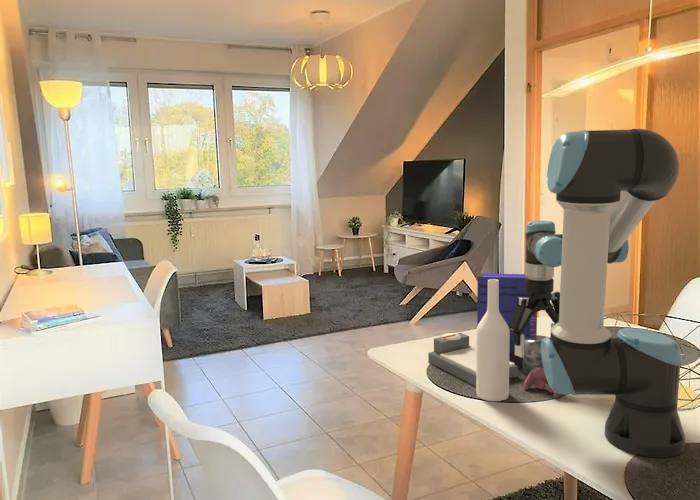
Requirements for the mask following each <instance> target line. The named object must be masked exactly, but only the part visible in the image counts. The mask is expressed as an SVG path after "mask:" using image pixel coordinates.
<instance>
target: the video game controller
mask: <svg viewBox="0 0 700 500" xmlns="http://www.w3.org/2000/svg"><path fill="white" fill-rule="evenodd" d="M546 381H547V379H546V376H545V372H544V368H534V369H533V370H532V371H531V372H530V373H529V374H527V377H526V378H525V380H524V383H523V389H524V390H525V391H527V390H529V389H531V388H532V386H533V385H534V384H535V387H536V388H537V389H539V390H544V389H547V391H548V392H549V393H551V394H553V398H554V399H556V400H557V399H559V398H560V397H561V396H562V394H558V393H556V392H554V391H553V390H552V389H551V388H550V386H549V384H547V382H546Z"/></svg>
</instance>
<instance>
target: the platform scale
mask: <svg viewBox="0 0 700 500" xmlns="http://www.w3.org/2000/svg"><path fill="white" fill-rule="evenodd" d="M428 363H429V364H431V365H433V366H434V367H436V366H437V368H438V367H439V369H440V368H441V369H440V370H442V369H443V370H442V371H444V370H445V372H446V371H447V373H448V372H449V374H450V373H451V374H450V375H452V374H453V375H452V376H454V375H455V376H454V377H456V376H457V377H456V378H458V377H459V378H458V379H460V378H461V379H460V380H462V379H463V380H462V381H464V380H465V381H464V382H466V381H467V382H466V383H468V384H470V385H472V386H474V387H476V346H475V345H474V346H472V345H470V335H468V334H465V333H462V332H457V333H456V332H452V333H451V332H448V333H444V334H442V335H441V336H440V337H435V338H433V351H430V352H428ZM513 377H514V378H517V377H518V365H517V364H516V363H515V362H513V361H510V360H509V378H510V379H514V378H513Z"/></svg>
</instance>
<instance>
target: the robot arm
mask: <svg viewBox="0 0 700 500" xmlns="http://www.w3.org/2000/svg"><path fill="white" fill-rule="evenodd" d="M547 164H548V165H547V172H546V178H547V180H546V181H547V182H546V183H547V188H548V190H549V191H550V193H553V194H556V195H555V202H557V203H558V205H559V206H560V207H561V208H562V209H563V213H562V214H563V219H562V220H563V221H562V233H561V234H559V233H557V231H556V225H555V222H553V221H549V220H531V221H529V222H527V223H526V225H525V232H524V236H525V260H524V261H525V262H524V274H525V275H526V278H525V291H526V293H527V295H526V298H521V297H518V298H517V305H516V308H515V310H514V313H513V316H512V318H511V321H510V324H509V326H508V327H509V331H510V332H511V333H513V334H514V345H515V354H514V356H517V357H518V358H522V359H523V357H524V334H522V332H523V331H524V329H525V327H526V325H527V324H528V322H529V320H530V319H531V317H532V315H534V314H535V313H536V312H537V313H538V312H540V311H545V312H546V314H547V315H548V317H549V318H550V319H551V321H552V323H550V337H549V336H546V338H543V339H542V341H541V342H542V343H541V356H542V362H543V367H544V372H545V376H546V379H547V380H546V381H547V382H546V383H548V384H549V386H550V388H551V389H552V390H553V391H554V392H556V393H558V394H561V395H572V396H576V395H578V396H579V395H585V396H586V395H589V396H590V395H592V396H593V395H595V396H596V395H599V396H603V395H612V396H614V395H615V396H614V402H613V404H612V406H611V409H610V410H609V414H608V415H607V418H606V420H605V422H604V423H605V424H604V436H605V438H606V440H607V441H608V442H609V443H610V444H612V445H613V446H615V447H617V448H619V449H620V450H622V451H625V452H627V453H631V454H634V455H638V456H642V457H646V458H647V457H649V458H670V457H675V456H678V455H680V454H682V453H683V452H684V451H685V447H686V446H685V445H686V434H685V431H684V428H683V426H682V425H683V424H682V421H681V418H680V415H679V412H678V401H679V387H680V374H681V373H680V372H681V366H682V362H681V347H680V345H679V344H678V342H677V341H676V340H674V339H673V338H671V337H669V336H667V335H665V334H662V333H659V332H656V331H651V330H648V329H641V328H633V327H632V328H631V327H625V328H620V329H619V330H618V331H617V333H616V337H612V333H611V332H610V330H609V329H608V328H606V326H605V325H604V323H605V322H604V320H605V308H606V307H605V306H606V291H607V273H608V264H609V265H610V264H614V263H615V264H617V263H618V264H619V263H623V262H625V261H626V260H627V258H628V254H629V251H630V250H629V249H630V247H629V240H628V239H629V238H630V236H631V235H632V233H634V231H635V229H637V227H638V226H639V224H640V223H641V222H642V220H643V219H644V218H645V216H646V215H647V213H648V212H649V211H650V209H651V208H653V205H654V204H655V203H656V202H658V201H660V200H663V199H664V198H665V197H667V196H668V194H670V192H671V191H672V189H673V188H674V186H675V185H676V182H677V181H678V177H679V174H680V173H679V172H680V161H679V156H678V154H677V152H676V149H675V148H674V146H673V145H672V144H671V142H670V141H669V140H668V139H667V138H666V137H665V136H663V135H661V134H660V133H658V132H656V131H653V130H649V129H645V128H631V129H602V130H601V129H599V130H598V129H597V130H596V129H595V130H586V129H585V130H584V129H583V130H576V131H570V132H569V131H568V132H564V133H561V134H560V135H559V136H558V137H557V139H556V140H555V142H554V144H553V146H552V148H551V152H550V155H549V159H548V163H547ZM556 233H557V234H556ZM558 267H560V282H559V285H560V286H559V291H557V290H554V284H555V283H554V281H555V280H554V279H553V277H555V268H558ZM529 308H530V309H529ZM518 329H519V330H518ZM548 384H547V385H548Z"/></svg>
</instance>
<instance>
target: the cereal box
mask: <svg viewBox="0 0 700 500" xmlns="http://www.w3.org/2000/svg"><path fill="white" fill-rule="evenodd" d="M525 278H526V275H525V273H477V283H476V284H477V285H476V286H477V296H476V297H477V298H476V299H477V301H476V302H477V303H476V305H477V306H476V307H477V310H476V311H477V312H476V313H477V315H476V316H477V318H476V319H477V322H476V323H477V325H476V326H478V324H479V323H480V321H481V319H482V318H483V317H484V315H485V314H486V312H487V306H488V280H489V279H497V280H499V312H500V314H501V315H502V317H503V319H504V320H505V322H506V323H507V325H508V326H509V324H510V321H511V318H512V316H513V313H514V310H515V308H516V305H517V298H518V297H521V298H526V295H527V293H526V291H525ZM529 309H530V308H529ZM537 323H538V312H536V313H535V314H534V315H532V317H531V319H530V320H529V322H528V324H527V325H526V327H525V329H524V331H523V332H522V334H524V337H526V336H530V335H538V334H537V333H538V328H537V327H538V325H537ZM518 330H519V329H518ZM509 354H514V355H515V345H514V334H513V333H511V332H510V344H509Z"/></svg>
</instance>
